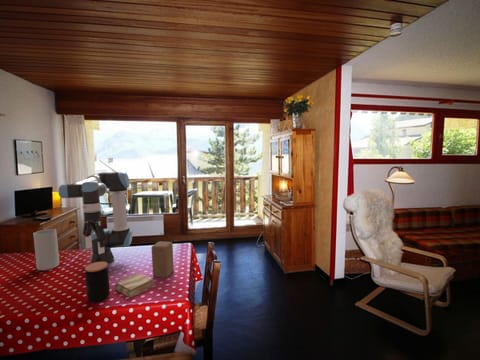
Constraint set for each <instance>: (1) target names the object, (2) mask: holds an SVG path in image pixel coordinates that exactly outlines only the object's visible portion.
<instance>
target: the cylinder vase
mask: <svg viewBox="0 0 480 360" xmlns="http://www.w3.org/2000/svg"><path fill="white" fill-rule="evenodd" d="M32 234H33V235H32V237H33V244H34V252H35V253H34V254H35V261H36V262H35V264H36V270H38V271H41V270H42V271H49V270H52V269H54V268H55V269H56V268H57V267H59V266H60V255H59V246H58V235H57V229H56V228H48V229H47V228H46V229H42V230H38V231H36V232H33V233H32Z"/></svg>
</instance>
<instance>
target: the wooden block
mask: <svg viewBox="0 0 480 360" xmlns="http://www.w3.org/2000/svg"><path fill="white" fill-rule="evenodd" d="M173 248H174V246H173V242H172V241H161V240H160V241H158V242H156V243H155V244H153V245H151V263H152V264H151V265H152V276H153V277H156V278H168V277H169V276H170V275H171V274H172V273H173V272H174V267H175V265H174V251H173V250H174V249H173Z"/></svg>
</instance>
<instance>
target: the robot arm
mask: <svg viewBox="0 0 480 360" xmlns="http://www.w3.org/2000/svg"><path fill="white" fill-rule="evenodd" d="M129 188H130V179H129V176H128V174H127V172H126V171H106V172H104V171H103V172H98V173H94V174H91V175H89V176H87V177H86V178H85V179H82V180H78V181H76V182H73V183H70V184H69V183H68V184H67V183H64V184H61V185H60V186H59V187H58V196H59V198H61V199H77V198H82V204H83V205H82V208H83V218H84V219H83V220H84V224H83V228H82V229H83V230H82V235H83V236H84V238H85V249H86V250H88V249H91V257H90V260H89V264H92V263H95V262H107V263H108V265H110V264H112V263H113V262H114V261H115V256H114V254H113V252H112V250H111V249H112V248H120V247H121V248H124V247H128V246H130V245H131V243H132V240H133V229H130V225H128V217H127V204H126V203H127V201H126V192H127V191H128V189H129ZM107 192H109V193H110V194H111V202H112V203H111V204H112V214H113V215H112V216H113V217H112V218H113V227H112V229H111V230H110V229H109V228H104V227H103V222H102V221H99V219H100V218H101V217H102V214H101V213H102V212H101V202H100V201H101V199H100V197H103V196H104V195H105V194H107ZM92 231H93V232H92Z"/></svg>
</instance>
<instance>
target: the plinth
mask: <svg viewBox="0 0 480 360" xmlns="http://www.w3.org/2000/svg"><path fill="white" fill-rule="evenodd" d="M153 287H155V280H154V279H152V278H151V277H149V276H146V275H144V274H142V273H139V272H138V273H135V274H133V275H131V276H129V277H127V278H124V279H122V280H120V281H117V282H116V283H115V290H116V291H118V292H120V293H121V294H122V295H125V296H127V297H128V298H133V297H134V296H136V295H137V296H138V295H139V294H140V293H143V292H144V291H147V290H149V289H150V288H153Z"/></svg>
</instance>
